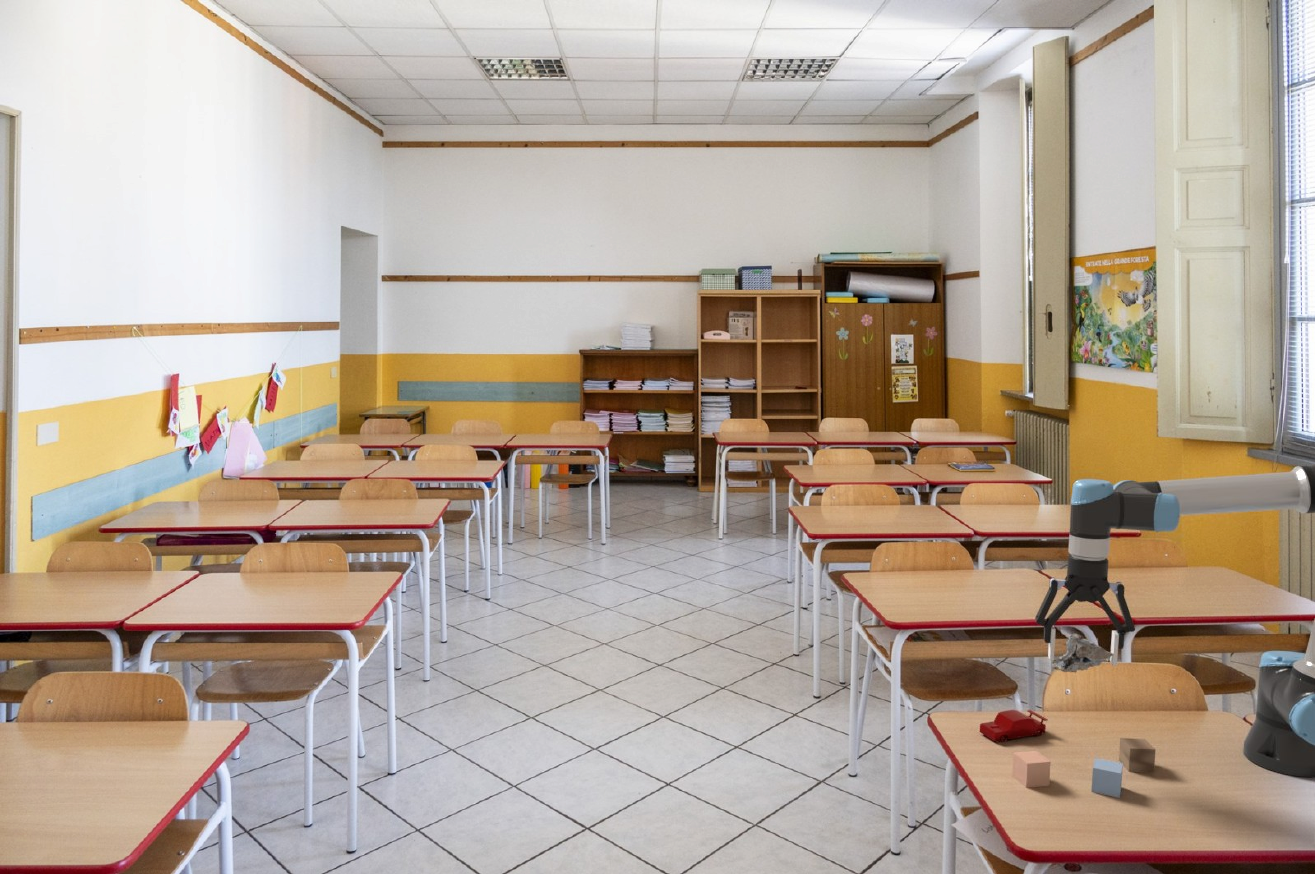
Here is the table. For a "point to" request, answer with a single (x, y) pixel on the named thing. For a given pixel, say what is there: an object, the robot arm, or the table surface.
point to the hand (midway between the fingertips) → (1082, 660)
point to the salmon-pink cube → (1031, 769)
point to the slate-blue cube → (1107, 777)
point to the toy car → (1013, 725)
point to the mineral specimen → (1080, 655)
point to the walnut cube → (1137, 755)
